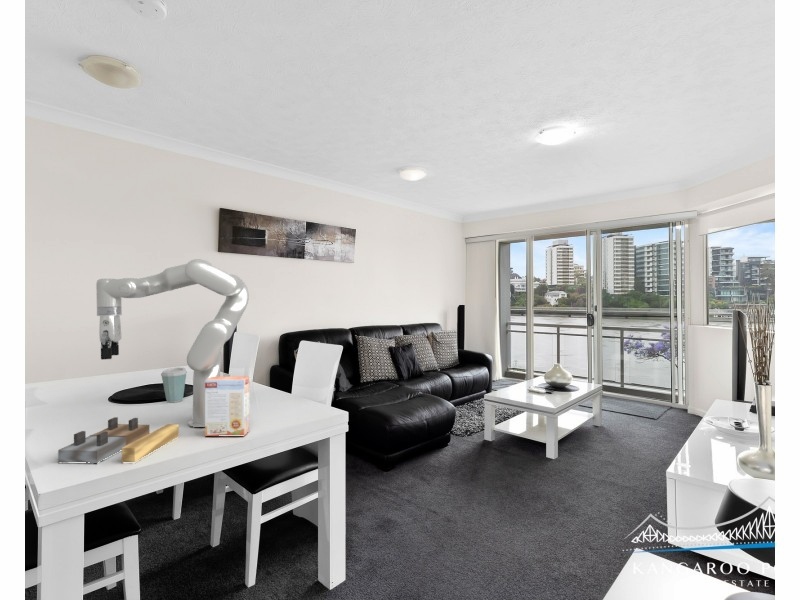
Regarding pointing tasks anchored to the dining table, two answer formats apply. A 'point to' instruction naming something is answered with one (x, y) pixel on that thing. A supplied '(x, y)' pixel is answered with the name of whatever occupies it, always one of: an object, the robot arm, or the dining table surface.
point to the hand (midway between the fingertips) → (110, 357)
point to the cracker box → (226, 406)
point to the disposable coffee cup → (174, 384)
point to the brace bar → (149, 443)
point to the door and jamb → (102, 442)
